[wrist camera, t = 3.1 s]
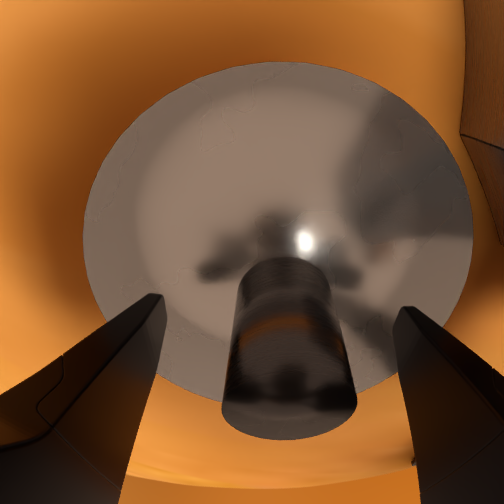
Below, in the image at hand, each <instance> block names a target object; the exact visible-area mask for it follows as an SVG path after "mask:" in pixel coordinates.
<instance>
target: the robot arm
mask: <svg viewBox="0 0 504 504" xmlns="http://www.w3.org/2000/svg"><path fill="white" fill-rule="evenodd" d="M166 326H167V311H166V305H165V299H164V296H163V295H162V294H157V293H149V294H147V295H145V296H144V297H143V298H141V299H140V300H138V301H137V302H135V303H134V304H132V305H131V306H130V307H128V308H127V309H125V310H124V311H122V312H121V313H120V314H118V315H117V316H115V317H114V318H113V319H111V320H110V321H108V322H107V323H105V324H104V325H103V326H101V327H100V328H98V329H97V330H96V331H94V332H93V333H91V334H90V335H89V336H87V337H86V338H84V339H83V340H82V341H80V342H79V343H77V344H76V345H75V346H73V347H72V348H71V349H69V350H68V351H66V352H65V353H64V354H63V356H62V355H61V356H59V357H58V358H57V359H55V360H54V361H53V362H51V363H50V364H48V365H47V366H45V367H44V368H43V369H41V370H40V371H38V372H37V373H35V374H34V375H32V376H30V377H29V378H27V379H26V380H24V381H22V382H21V383H19V384H17V385H16V386H14V387H12V388H11V389H9V390H7V391H6V392H4V393H2V394H1V395H0V504H118V501H119V498H120V494H121V489H122V485H123V482H124V478H125V474H126V470H127V467H128V463H129V460H130V456H131V453H132V449H133V446H134V442H135V439H136V435H137V432H138V429H139V425H140V422H141V419H142V415H143V412H144V409H145V406H146V403H147V399H148V396H149V393H150V390H151V387H152V384H153V381H154V378H155V375H156V371H157V368H158V364H159V359H160V354H161V349H162V344H163V340H164V335H165V330H166ZM392 336H393V342H394V348H395V355H396V362H397V369H398V375H399V380H400V384H401V388H402V392H403V397H404V401H405V406H406V411H407V415H408V420H409V425H410V430H411V436H412V441H413V447H414V453H415V459H413V460H412V461H411V463H412V466H415V465H416V466H417V473H418V480H419V489H420V500H421V504H504V376H502V375H501V374H500V373H499V372H498V371H496V370H495V369H494V368H493V369H492V366H490V365H489V364H488V363H487V362H485V361H484V360H483V359H482V358H481V357H479V356H478V355H477V354H476V353H474V352H473V351H472V350H471V349H469V348H468V347H467V346H466V345H464V344H463V343H462V342H461V341H459V340H458V339H457V338H455V337H454V336H453V335H452V334H450V333H449V332H448V331H446V330H445V329H444V328H443V327H441V326H440V325H439V324H437V323H436V322H435V321H433V320H432V319H431V318H429V317H428V316H427V315H425V314H424V313H423V312H421V311H420V310H419V309H417V308H416V307H415V306H403V307H401V308H400V310H399V312H398V315H397V317H396V320H395V322H394V325H393V328H392Z"/></svg>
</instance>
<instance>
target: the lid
mask: <svg viewBox="0 0 504 504" xmlns="http://www.w3.org/2000/svg"><path fill="white" fill-rule="evenodd" d="M472 248H473V217H472V210H471V205H470V200H469V195H468V190H467V188H466V185H465V182H464V179H463V177H462V174H461V171H460V169H459V166H458V164H457V163H456V161H455V159H454V157H453V156H452V154H451V152H450V150H449V149H448V147H447V145H446V144H445V142H444V141H443V140H442V138H441V137H440V136H439V135H438V133H437V132H436V131H435V130H434V128H433V127H432V126H431V125H430V124H429V122H428V121H427V120H426V119H425V118H424V117H422V116H421V115H420V114H419V113H418V112H417V111H416V110H415V109H413V108H412V107H411V106H410V105H409V104H407V103H406V102H405V101H404V100H403V99H401V98H399V97H398V96H396V95H395V94H393V93H391V92H390V91H388V90H386V89H385V88H383V87H381V86H380V85H378V84H376V83H374V82H372V81H369V80H367V79H364V78H362V77H359V76H357V75H354V74H352V73H349V72H346V71H343V70H340V69H335V68H331V67H326V66H321V65H316V64H310V63H300V62H264V63H256V64H249V65H243V66H236V67H231V68H228V69H225V70H221V71H218V72H215V73H212V74H209V75H206V76H203V77H200V78H198V79H196V80H194V81H192V82H190V83H188V84H186V85H184V86H182V87H180V88H178V89H176V90H174V91H173V92H171V93H169V94H167V95H166V96H164V97H163V98H161V99H160V100H159V101H157V102H156V103H155V104H154V105H152V106H151V107H150V108H148V109H147V110H146V111H144V112H143V113H142V114H141V115H140V116H139V117H138V118H137V119H136V120H135V121H134V122H133V123H132V124H131V125H130V126H129V127H128V128H127V129H126V130H125V132H124V133H123V134H122V135H121V136H120V137H119V138H118V140H117V141H116V143H115V144H114V146H113V147H112V149H111V150H110V152H109V153H108V155H107V156H106V158H105V159H104V161H103V162H102V165H101V167H100V169H99V171H98V173H97V176H96V178H95V180H94V183H93V185H92V187H91V191H90V195H89V198H88V202H87V206H86V210H85V217H84V227H83V251H84V261H85V266H86V271H87V276H88V280H89V283H90V286H91V289H92V292H93V295H94V297H95V300H96V302H97V304H98V306H99V308H100V310H101V312H102V314H103V316H104V318H105V319H106V321H107V322H108V321H110V320H111V319H113V318H114V317H115V316H117V315H118V314H120V313H121V312H122V311H124V310H125V309H127V308H128V307H130V306H131V305H132V304H134V303H135V302H137V301H138V300H140V299H141V298H143V297H144V296H145V295H147V294H149V293H157V294H162V295H163V296H164V299H165V305H166V311H167V326H166V330H165V335H164V340H163V344H162V349H161V354H160V359H159V364H158V368H157V371H156V373H157V374H159V375H160V376H162V377H164V378H165V379H167V380H169V381H170V382H172V383H174V384H176V385H178V386H180V387H182V388H184V389H186V390H188V391H190V392H192V393H195V394H198V395H200V396H203V397H206V398H209V399H212V400H215V401H219V402H222V414H223V417H224V418H225V420H226V421H227V422H228V423H229V424H230V425H231V426H232V427H234V428H235V429H237V430H239V431H241V432H243V433H245V434H248V435H251V436H254V437H258V438H264V439H271V440H296V439H303V438H309V437H313V436H317V435H320V434H323V433H326V432H328V431H330V430H333V429H334V428H336V427H338V426H340V425H341V424H343V423H344V422H345V421H347V420H348V419H349V418H350V417H351V416H352V414H353V413H354V411H355V409H356V407H357V395H356V394H357V393H359V392H362V391H364V390H366V389H368V388H370V387H372V386H374V385H376V384H378V383H380V382H382V381H383V380H385V379H387V378H388V377H390V376H392V375H393V374H395V373H396V372H398V369H397V362H396V355H395V348H394V342H393V336H392V328H393V325H394V322H395V320H396V317H397V315H398V312H399V310H400V308H401V307H403V306H415V307H416V308H417V309H419V310H420V311H421V312H423V313H424V314H425V315H427V316H428V317H429V318H431V319H432V320H433V321H435V322H436V323H437V324H439V325H440V326H441V327H443V326H444V324H445V323H446V322H447V320H448V319H449V317H450V315H451V313H452V312H453V310H454V308H455V306H456V304H457V302H458V300H459V298H460V295H461V293H462V290H463V288H464V285H465V282H466V279H467V275H468V271H469V267H470V263H471V257H472Z"/></svg>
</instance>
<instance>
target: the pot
mask: <svg viewBox="0 0 504 504" xmlns="http://www.w3.org/2000/svg"><path fill="white" fill-rule="evenodd" d="M464 7H465V23H466V71H465V89H464V101H463V110H462V119H461V127H460V133H462V134H460V136H461V138H462V140H463V142H464V144H465V146H466V149H467V151H468V153H469V155H470V157H471V160H472V162H473V164H474V167H475V169H476V171H477V174H478V176H479V179H480V181H481V184H482V187H483V189H484V192H485V195H486V197H487V200H488V203H489V206H490V209H491V212H492V215H493V218H494V221H495V225H496V228H497V232H498V235H499V239H500V242H501V245H502V246H503V247H504V0H464Z"/></svg>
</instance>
